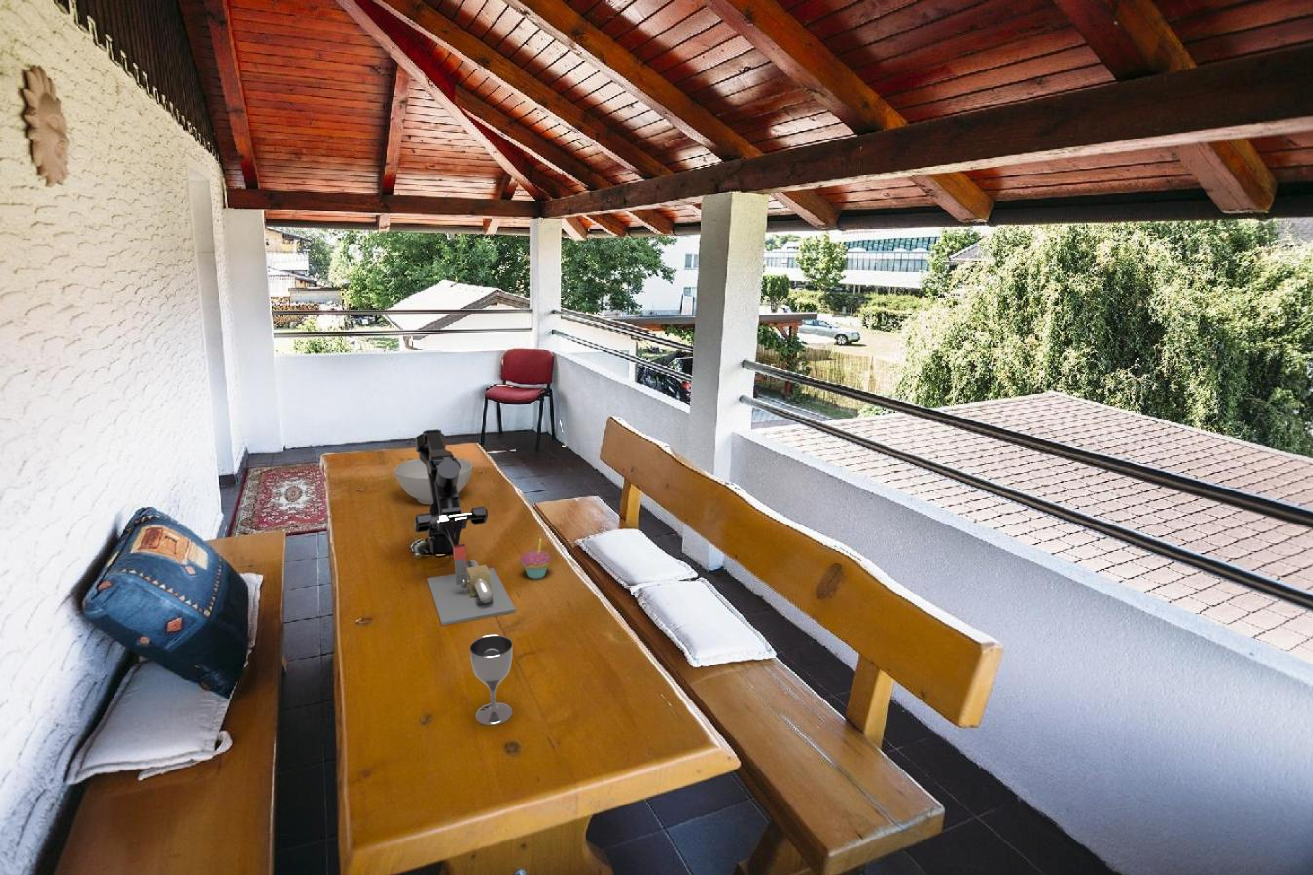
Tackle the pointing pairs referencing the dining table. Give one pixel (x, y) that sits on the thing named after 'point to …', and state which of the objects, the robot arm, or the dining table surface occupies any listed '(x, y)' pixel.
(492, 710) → the wine glass
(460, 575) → the valve lever
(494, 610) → the mounting board
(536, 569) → the cupcake
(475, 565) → the ball valve
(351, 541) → the dining table surface
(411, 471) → the decorative bowl
